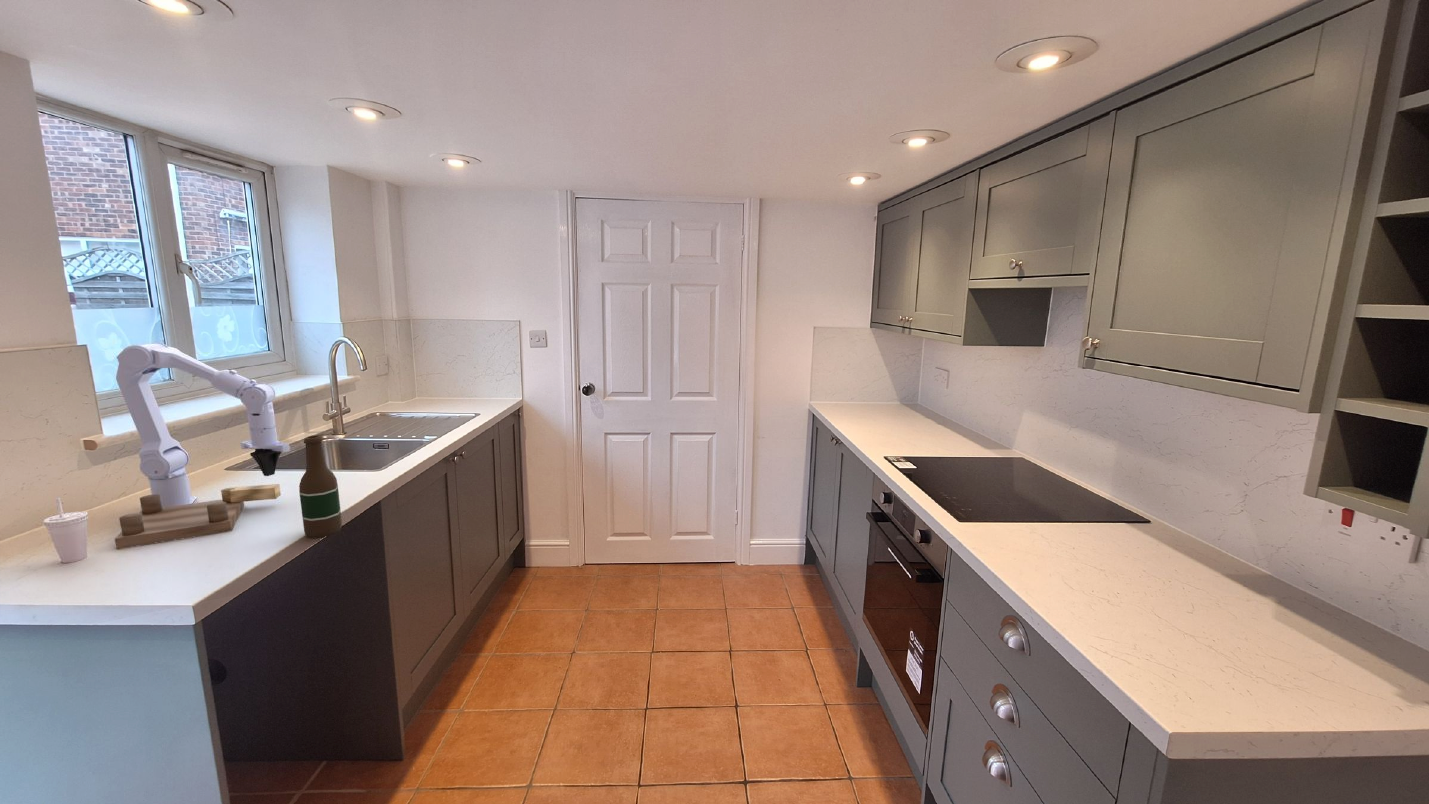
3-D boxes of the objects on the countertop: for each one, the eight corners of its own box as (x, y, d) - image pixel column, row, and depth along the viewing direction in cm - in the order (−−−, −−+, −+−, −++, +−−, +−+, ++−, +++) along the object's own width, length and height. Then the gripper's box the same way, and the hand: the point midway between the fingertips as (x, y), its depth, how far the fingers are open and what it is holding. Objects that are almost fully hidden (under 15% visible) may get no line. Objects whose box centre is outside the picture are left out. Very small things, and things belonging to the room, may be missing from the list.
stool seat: (143, 519, 143) (139, 495, 142) (244, 505, 154) (241, 482, 152) (116, 549, 126) (111, 522, 125) (231, 530, 137) (228, 505, 136)
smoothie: (47, 561, 120) (33, 499, 118) (90, 550, 126) (78, 490, 123) (57, 568, 117) (44, 504, 115) (101, 556, 123) (89, 495, 120)
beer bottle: (301, 531, 137) (289, 436, 133) (338, 523, 143) (327, 431, 138) (308, 541, 132) (296, 442, 128) (347, 531, 137) (336, 436, 133)
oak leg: (220, 503, 148) (218, 491, 147) (226, 499, 151) (224, 487, 150) (275, 498, 151) (274, 487, 151) (280, 495, 154) (279, 483, 154)
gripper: (226, 429, 152) (234, 477, 155) (269, 432, 149) (276, 481, 152) (253, 423, 159) (259, 469, 161) (294, 426, 156) (300, 473, 158)
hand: (269, 475), depth 157 cm, fingers closed
